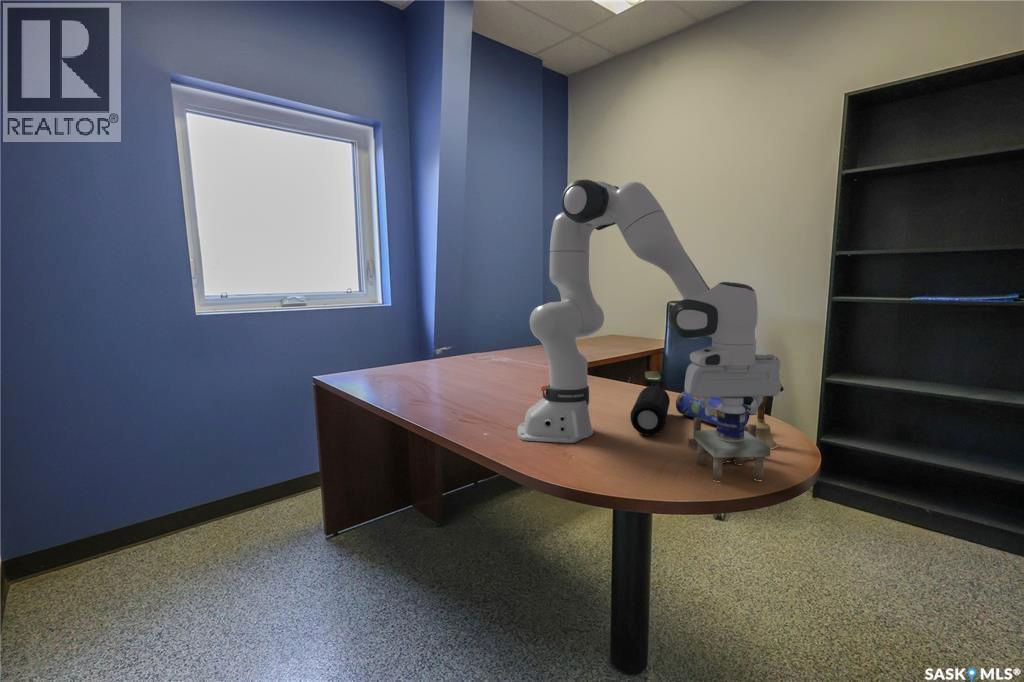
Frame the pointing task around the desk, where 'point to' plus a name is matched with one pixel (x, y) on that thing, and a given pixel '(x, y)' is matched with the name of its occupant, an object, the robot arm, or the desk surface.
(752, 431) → the upturned stool
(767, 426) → the hand bell
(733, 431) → the pill bottle
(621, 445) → the desk surface
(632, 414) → the portable speaker
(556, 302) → the robot arm
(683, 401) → the pencil case
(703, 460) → the small table
